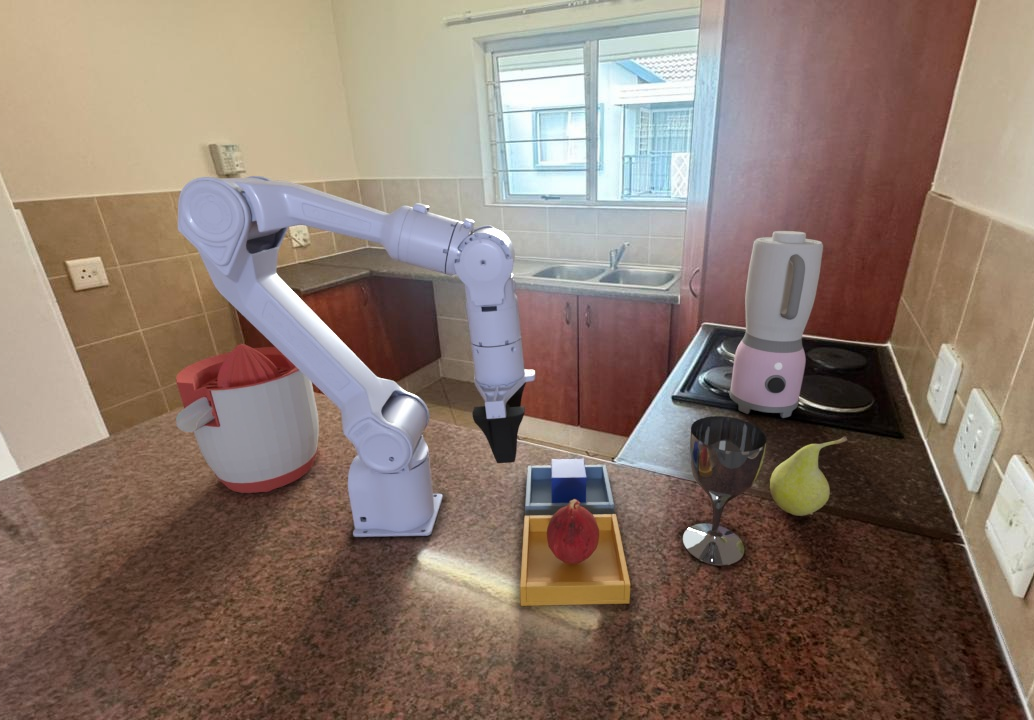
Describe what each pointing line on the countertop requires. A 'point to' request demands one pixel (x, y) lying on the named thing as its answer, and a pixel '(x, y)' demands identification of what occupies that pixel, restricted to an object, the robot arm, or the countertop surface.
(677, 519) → the countertop surface
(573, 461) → the blue block
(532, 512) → the gray tray
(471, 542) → the countertop surface
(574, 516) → the onion
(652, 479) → the countertop surface
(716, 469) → the wine glass
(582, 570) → the ochre tray
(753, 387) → the blender
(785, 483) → the fruit
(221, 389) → the citrus juicer
